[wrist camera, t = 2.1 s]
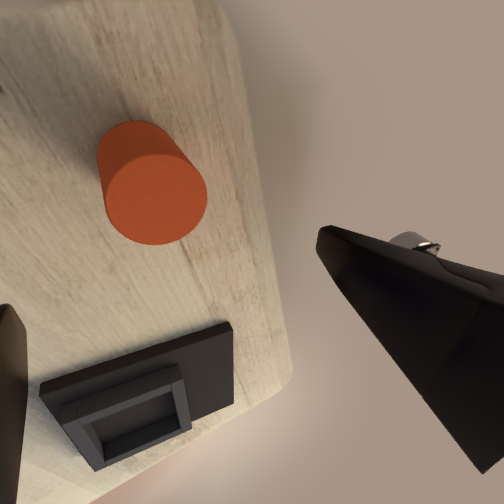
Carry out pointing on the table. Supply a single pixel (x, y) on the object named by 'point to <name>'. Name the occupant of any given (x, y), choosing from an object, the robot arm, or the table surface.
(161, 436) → the base pad
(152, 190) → the orange cylinder
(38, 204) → the table surface
